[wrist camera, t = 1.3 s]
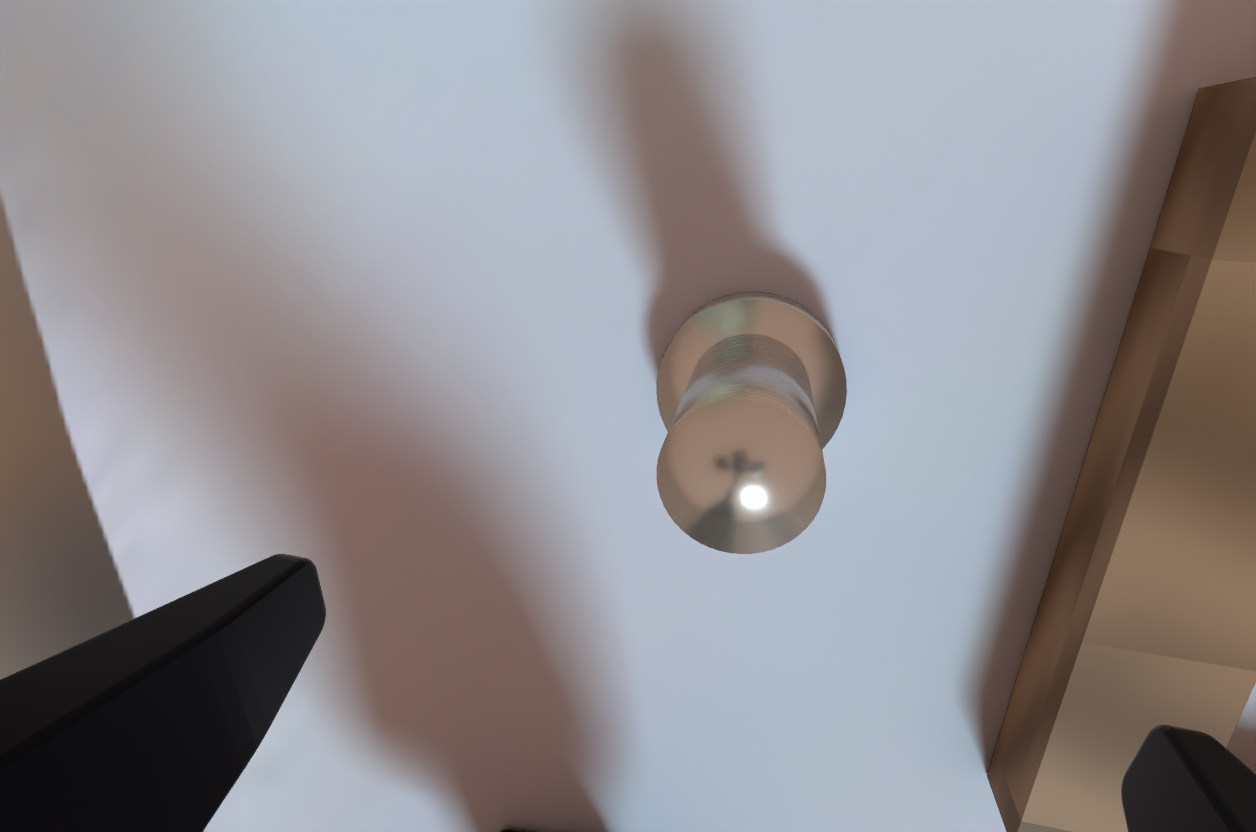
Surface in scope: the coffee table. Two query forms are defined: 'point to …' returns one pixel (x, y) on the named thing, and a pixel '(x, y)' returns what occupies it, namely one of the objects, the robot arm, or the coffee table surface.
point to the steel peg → (747, 421)
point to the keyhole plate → (1154, 511)
